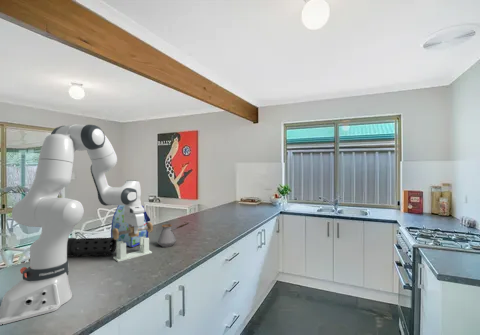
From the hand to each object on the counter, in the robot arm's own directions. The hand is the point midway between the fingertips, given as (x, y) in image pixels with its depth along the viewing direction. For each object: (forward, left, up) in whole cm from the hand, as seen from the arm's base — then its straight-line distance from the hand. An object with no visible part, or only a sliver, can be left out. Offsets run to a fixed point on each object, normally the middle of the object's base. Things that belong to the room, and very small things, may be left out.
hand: (133, 232), depth 143 cm
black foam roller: (-18, +19, -14) cm, 30 cm away
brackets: (0, 0, -13) cm, 13 cm away
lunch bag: (+9, +27, -14) cm, 31 cm away
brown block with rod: (0, 0, -2) cm, 2 cm away
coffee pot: (+26, 0, -13) cm, 29 cm away
